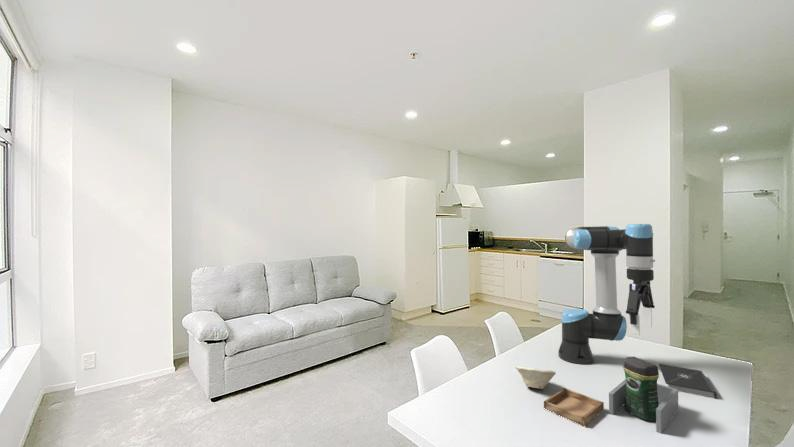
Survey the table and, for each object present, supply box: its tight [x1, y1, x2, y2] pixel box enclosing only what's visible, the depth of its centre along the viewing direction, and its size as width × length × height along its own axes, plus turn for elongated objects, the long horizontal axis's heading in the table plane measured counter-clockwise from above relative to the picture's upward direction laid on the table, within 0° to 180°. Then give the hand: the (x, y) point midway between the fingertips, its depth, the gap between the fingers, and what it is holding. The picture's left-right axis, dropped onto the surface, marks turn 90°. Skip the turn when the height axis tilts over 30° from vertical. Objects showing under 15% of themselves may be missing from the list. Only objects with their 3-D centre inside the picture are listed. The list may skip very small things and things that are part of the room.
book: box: [658, 363, 718, 400], centre depth 136 cm, size 22×15×3 cm
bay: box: [608, 378, 679, 434], centre depth 115 cm, size 14×21×7 cm
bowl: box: [515, 365, 557, 390], centre depth 133 cm, size 15×14×10 cm
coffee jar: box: [623, 356, 660, 422], centre depth 113 cm, size 10×8×19 cm
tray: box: [543, 387, 605, 427], centre depth 117 cm, size 14×16×3 cm
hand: (641, 329), depth 114 cm, fingers open, 13 cm apart
